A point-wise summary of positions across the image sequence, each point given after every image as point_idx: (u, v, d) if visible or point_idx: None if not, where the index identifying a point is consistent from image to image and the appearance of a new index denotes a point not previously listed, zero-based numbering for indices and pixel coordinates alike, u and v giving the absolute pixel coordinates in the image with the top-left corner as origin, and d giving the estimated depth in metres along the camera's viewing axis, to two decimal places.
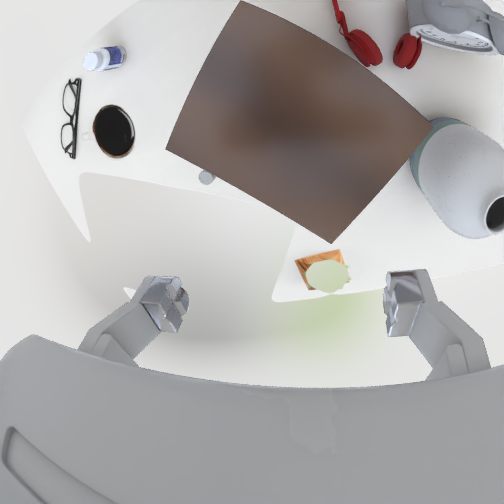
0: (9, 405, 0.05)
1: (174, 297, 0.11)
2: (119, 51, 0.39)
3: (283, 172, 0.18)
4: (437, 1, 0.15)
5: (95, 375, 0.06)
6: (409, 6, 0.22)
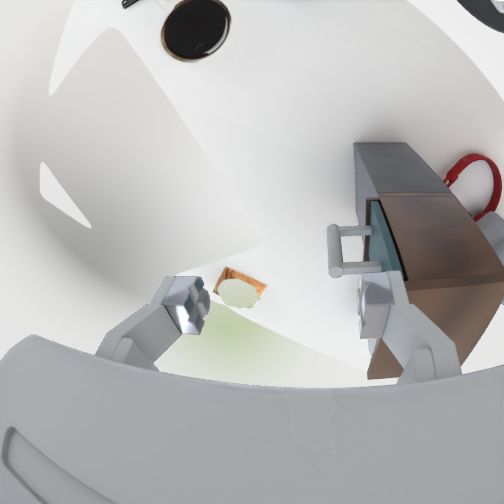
0: (9, 405, 0.05)
1: (197, 298, 0.11)
2: None
3: None
4: None
5: (95, 375, 0.06)
6: (490, 224, 0.37)
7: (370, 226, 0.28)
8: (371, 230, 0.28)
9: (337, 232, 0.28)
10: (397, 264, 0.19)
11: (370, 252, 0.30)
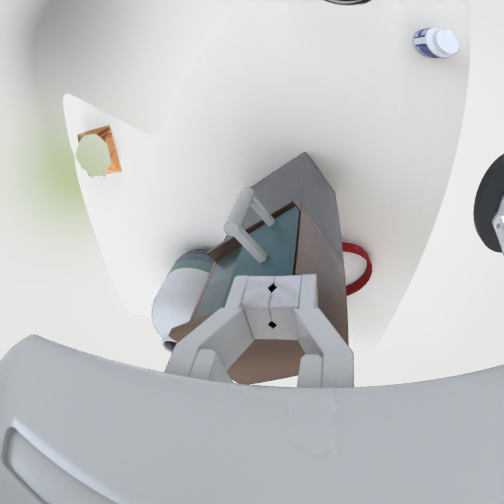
0: (9, 405, 0.05)
1: None
2: (430, 56, 0.28)
3: None
4: None
5: (95, 375, 0.06)
6: None
7: (274, 220, 0.30)
8: (273, 224, 0.30)
9: (251, 199, 0.28)
10: (290, 274, 0.22)
11: (251, 236, 0.32)
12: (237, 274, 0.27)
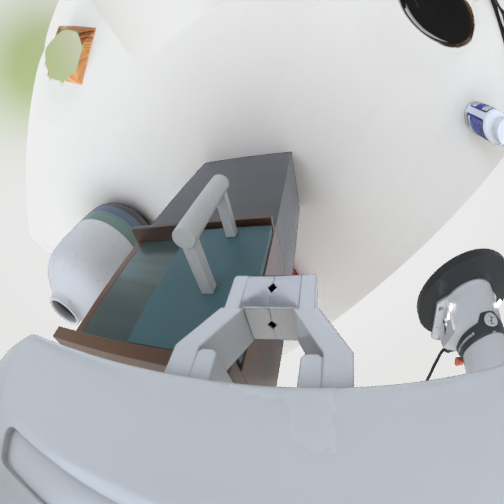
0: (9, 405, 0.05)
1: None
2: (475, 131, 0.27)
3: None
4: None
5: (95, 375, 0.06)
6: None
7: (236, 232, 0.22)
8: (233, 236, 0.22)
9: (223, 196, 0.19)
10: None
11: None
12: (164, 290, 0.18)
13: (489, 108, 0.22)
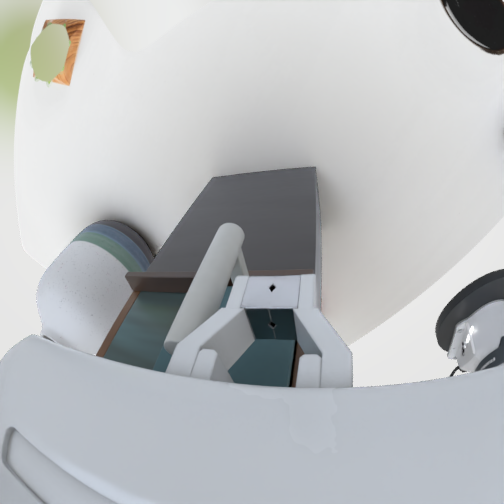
0: (9, 405, 0.05)
1: None
2: None
3: None
4: None
5: (95, 375, 0.06)
6: None
7: None
8: None
9: None
10: None
11: None
12: None
13: None
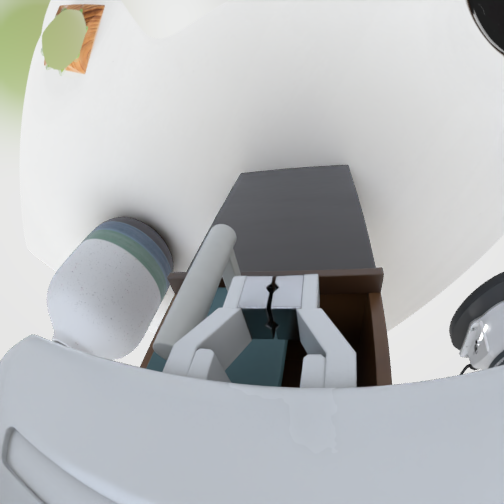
0: (9, 405, 0.05)
1: (271, 299, 0.10)
2: None
3: None
4: None
5: (95, 375, 0.06)
6: None
7: None
8: None
9: (228, 260, 0.13)
10: None
11: None
12: None
13: None
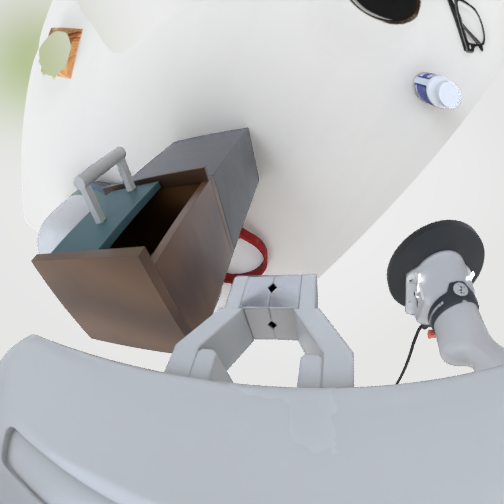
0: (9, 405, 0.05)
1: None
2: (423, 99, 0.32)
3: (81, 285, 0.20)
4: None
5: (95, 375, 0.06)
6: None
7: (134, 187, 0.27)
8: (131, 190, 0.27)
9: (118, 160, 0.24)
10: (108, 245, 0.20)
11: (112, 195, 0.28)
12: (78, 226, 0.24)
13: (433, 75, 0.27)
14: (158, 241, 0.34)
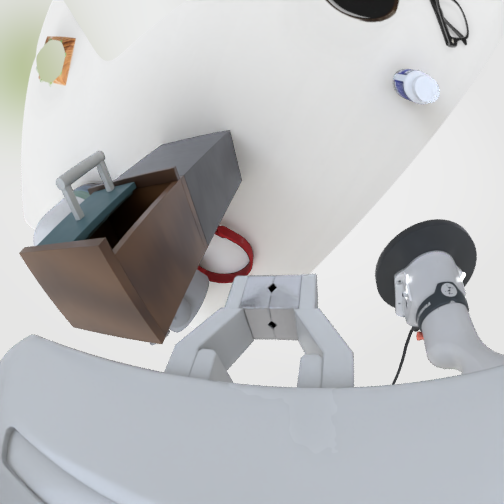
0: (9, 405, 0.05)
1: None
2: (402, 96, 0.33)
3: (59, 274, 0.21)
4: (177, 315, 0.51)
5: (95, 375, 0.06)
6: (196, 283, 0.58)
7: (113, 188, 0.29)
8: (110, 190, 0.28)
9: (97, 163, 0.26)
10: (82, 238, 0.21)
11: (94, 195, 0.30)
12: (62, 222, 0.25)
13: (411, 70, 0.28)
14: None
